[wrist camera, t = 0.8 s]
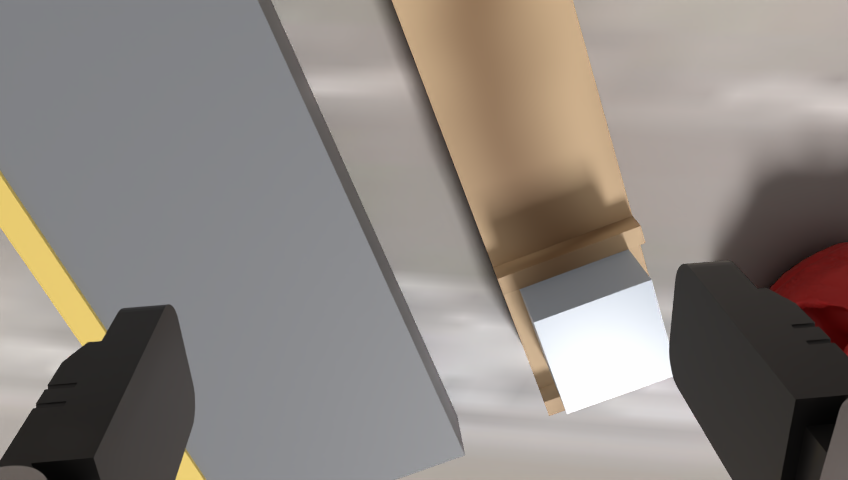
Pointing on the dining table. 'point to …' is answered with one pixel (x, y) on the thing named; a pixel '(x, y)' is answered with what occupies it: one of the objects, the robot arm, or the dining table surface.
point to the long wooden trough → (524, 142)
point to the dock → (215, 232)
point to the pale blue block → (599, 330)
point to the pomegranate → (821, 291)
